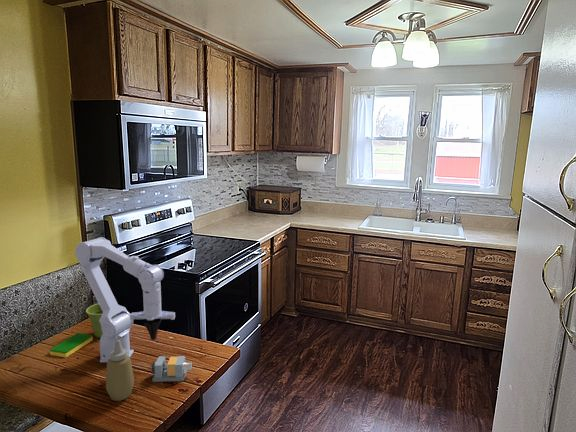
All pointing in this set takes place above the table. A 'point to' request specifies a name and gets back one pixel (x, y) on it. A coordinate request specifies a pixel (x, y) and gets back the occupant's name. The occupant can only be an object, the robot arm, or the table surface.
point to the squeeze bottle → (119, 374)
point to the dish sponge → (71, 345)
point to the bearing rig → (162, 374)
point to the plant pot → (96, 319)
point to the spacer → (171, 366)
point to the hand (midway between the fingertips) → (153, 338)
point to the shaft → (185, 365)
